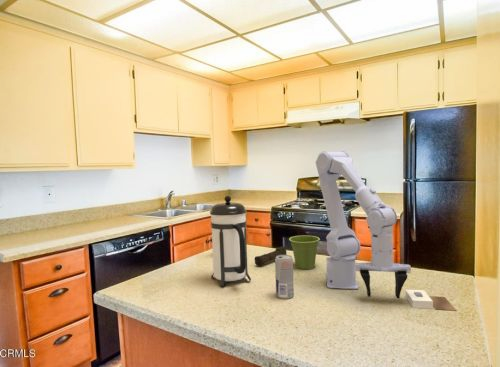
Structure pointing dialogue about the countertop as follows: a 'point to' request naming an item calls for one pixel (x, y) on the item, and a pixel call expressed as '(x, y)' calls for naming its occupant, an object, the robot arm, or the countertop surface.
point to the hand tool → (269, 256)
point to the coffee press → (229, 242)
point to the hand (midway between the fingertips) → (383, 296)
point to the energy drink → (284, 276)
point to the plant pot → (304, 250)
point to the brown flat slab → (441, 303)
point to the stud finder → (419, 299)
